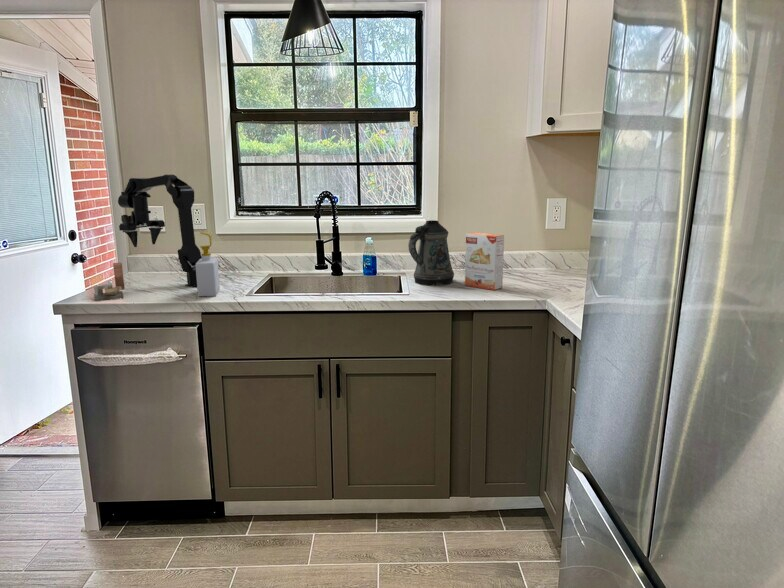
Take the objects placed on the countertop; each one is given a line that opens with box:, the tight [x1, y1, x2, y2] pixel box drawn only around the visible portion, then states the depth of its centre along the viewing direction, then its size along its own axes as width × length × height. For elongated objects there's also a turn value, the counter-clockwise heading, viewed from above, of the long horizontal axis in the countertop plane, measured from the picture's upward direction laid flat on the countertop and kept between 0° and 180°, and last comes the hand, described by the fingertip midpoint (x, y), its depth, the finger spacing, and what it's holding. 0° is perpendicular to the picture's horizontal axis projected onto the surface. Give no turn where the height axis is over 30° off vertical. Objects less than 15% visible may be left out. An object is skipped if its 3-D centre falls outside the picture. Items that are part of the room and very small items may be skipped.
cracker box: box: [464, 231, 505, 291], centre depth 221 cm, size 14×6×21 cm, turn 47°
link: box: [104, 262, 126, 295], centre depth 214 cm, size 12×4×10 cm, turn 5°
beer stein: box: [407, 219, 455, 287], centre depth 231 cm, size 16×19×25 cm
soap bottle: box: [195, 231, 221, 297], centre depth 215 cm, size 12×7×23 cm, turn 10°
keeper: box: [93, 280, 113, 296], centre depth 211 cm, size 6×7×6 cm
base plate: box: [93, 290, 125, 302], centre depth 212 cm, size 10×9×1 cm
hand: (144, 245), depth 242 cm, fingers open, 9 cm apart
